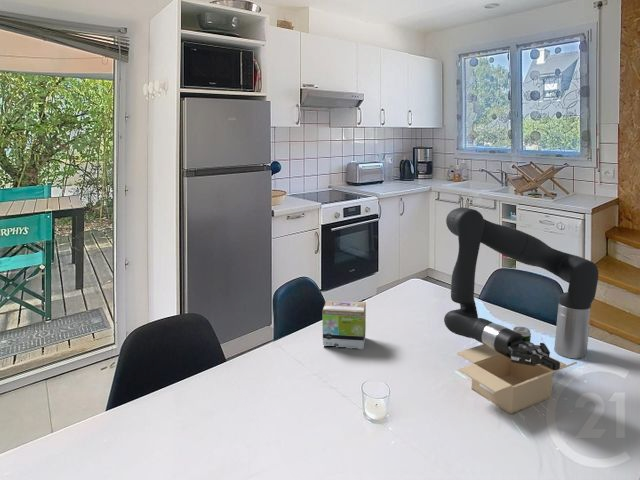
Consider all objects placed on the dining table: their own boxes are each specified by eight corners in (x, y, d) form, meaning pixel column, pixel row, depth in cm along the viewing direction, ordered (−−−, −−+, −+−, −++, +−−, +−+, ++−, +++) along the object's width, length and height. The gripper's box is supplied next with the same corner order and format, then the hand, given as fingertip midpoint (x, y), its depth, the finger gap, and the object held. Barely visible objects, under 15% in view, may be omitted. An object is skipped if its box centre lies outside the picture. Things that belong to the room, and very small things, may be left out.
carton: (504, 360, 143) (506, 336, 141) (564, 391, 125) (567, 364, 123) (439, 383, 131) (440, 357, 129) (495, 421, 113) (497, 392, 111)
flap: (552, 370, 120) (576, 361, 113) (553, 371, 120) (577, 363, 113) (514, 385, 114) (537, 376, 107) (515, 386, 113) (538, 378, 107)
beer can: (522, 370, 137) (524, 335, 134) (506, 363, 141) (509, 329, 139) (531, 365, 140) (534, 330, 137) (516, 358, 144) (518, 325, 142)
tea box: (322, 348, 156) (321, 309, 153) (326, 336, 166) (325, 299, 162) (364, 350, 153) (364, 311, 150) (366, 337, 163) (365, 300, 160)
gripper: (486, 333, 121) (541, 359, 106) (519, 323, 127) (576, 347, 112) (484, 357, 123) (539, 387, 108) (517, 346, 129) (573, 373, 113)
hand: (557, 366), depth 110 cm, fingers closed
